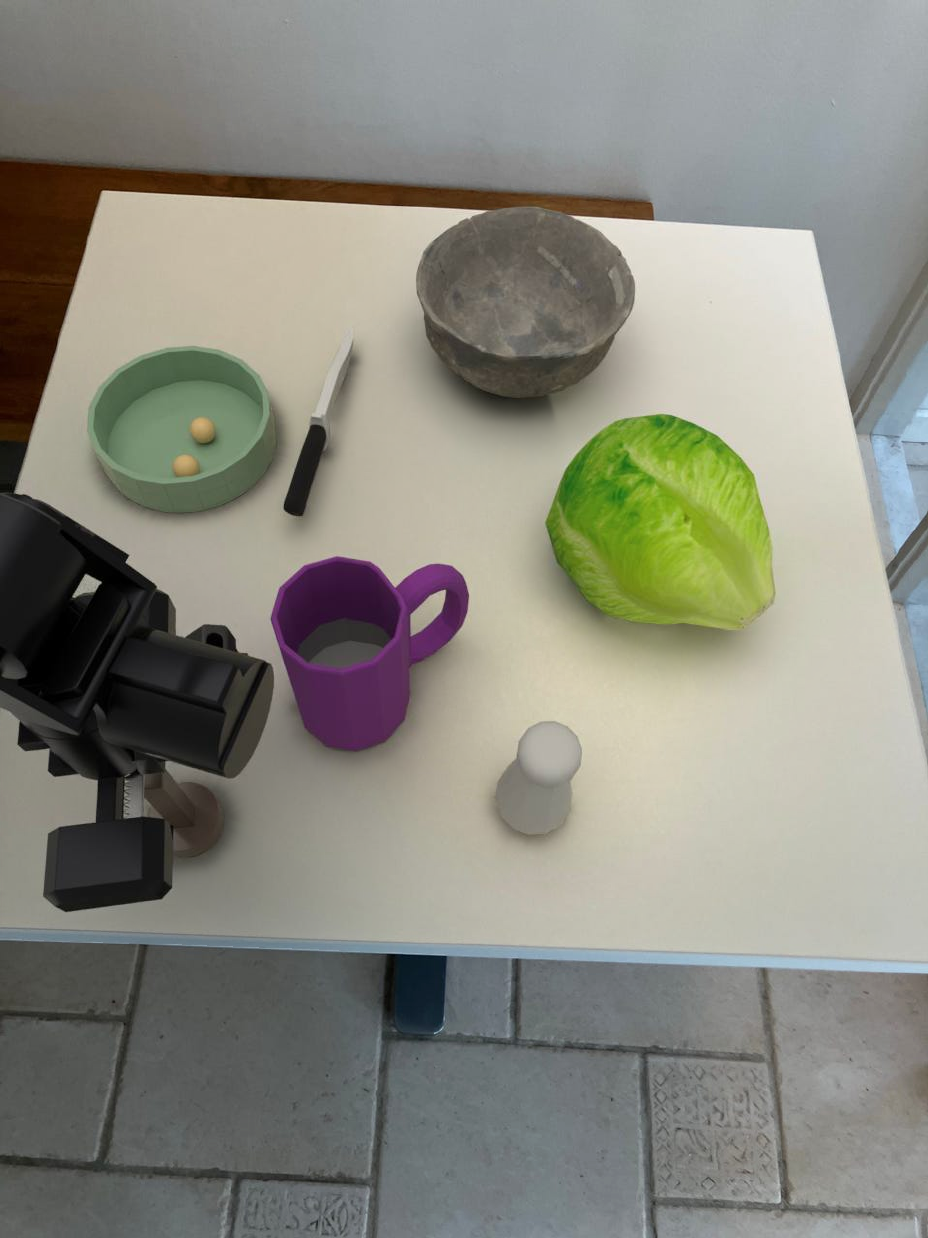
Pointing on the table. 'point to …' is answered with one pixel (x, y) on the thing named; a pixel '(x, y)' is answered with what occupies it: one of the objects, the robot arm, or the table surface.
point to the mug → (359, 643)
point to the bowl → (523, 299)
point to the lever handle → (185, 812)
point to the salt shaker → (540, 779)
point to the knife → (318, 431)
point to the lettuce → (664, 526)
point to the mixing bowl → (182, 428)
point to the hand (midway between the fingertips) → (154, 782)
